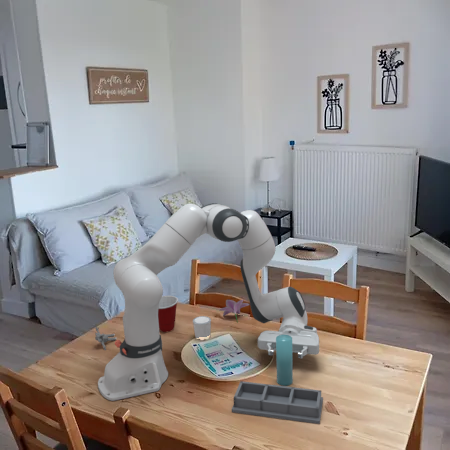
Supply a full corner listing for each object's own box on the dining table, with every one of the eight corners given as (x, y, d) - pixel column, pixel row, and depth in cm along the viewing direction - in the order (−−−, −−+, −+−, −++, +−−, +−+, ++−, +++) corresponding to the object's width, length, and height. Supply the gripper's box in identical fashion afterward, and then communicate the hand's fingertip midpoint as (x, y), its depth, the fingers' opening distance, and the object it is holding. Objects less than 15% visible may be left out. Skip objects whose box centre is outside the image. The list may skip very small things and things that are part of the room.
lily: (254, 318, 202) (248, 295, 204) (247, 319, 191) (241, 295, 193) (227, 325, 205) (221, 303, 207) (219, 327, 194) (213, 303, 196)
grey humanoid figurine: (123, 344, 184) (104, 346, 177) (114, 353, 187) (95, 355, 180) (114, 321, 189) (95, 322, 182) (105, 330, 191) (86, 331, 184)
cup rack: (231, 412, 143) (231, 400, 141) (240, 390, 153) (240, 378, 152) (319, 424, 136) (319, 411, 135) (322, 400, 146) (323, 388, 145)
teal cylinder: (282, 387, 153) (282, 344, 149) (273, 380, 157) (272, 337, 153) (295, 382, 155) (295, 339, 151) (286, 375, 160) (285, 333, 156)
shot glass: (209, 341, 183) (208, 324, 181) (191, 340, 184) (190, 323, 183) (213, 332, 190) (212, 316, 188) (196, 332, 191) (195, 315, 189)
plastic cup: (150, 325, 198) (147, 297, 195) (176, 320, 201) (174, 293, 198) (155, 337, 188) (152, 308, 185) (182, 332, 191) (180, 303, 188)
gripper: (261, 323, 171) (252, 342, 159) (321, 328, 166) (317, 348, 153) (261, 339, 173) (253, 360, 160) (321, 345, 168) (317, 367, 155)
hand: (285, 354), depth 157 cm, fingers open, 8 cm apart
